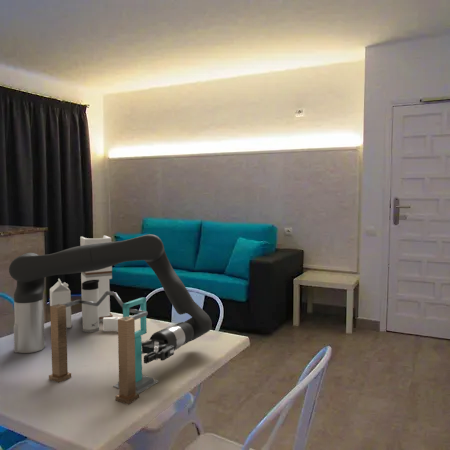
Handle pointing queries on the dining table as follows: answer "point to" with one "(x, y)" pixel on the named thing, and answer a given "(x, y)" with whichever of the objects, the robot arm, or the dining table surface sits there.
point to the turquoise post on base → (138, 343)
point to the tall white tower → (99, 278)
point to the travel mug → (90, 306)
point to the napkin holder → (110, 323)
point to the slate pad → (141, 388)
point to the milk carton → (61, 298)
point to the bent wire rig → (124, 347)
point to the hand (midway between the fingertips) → (132, 357)
